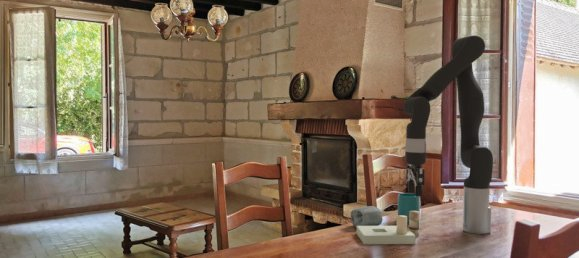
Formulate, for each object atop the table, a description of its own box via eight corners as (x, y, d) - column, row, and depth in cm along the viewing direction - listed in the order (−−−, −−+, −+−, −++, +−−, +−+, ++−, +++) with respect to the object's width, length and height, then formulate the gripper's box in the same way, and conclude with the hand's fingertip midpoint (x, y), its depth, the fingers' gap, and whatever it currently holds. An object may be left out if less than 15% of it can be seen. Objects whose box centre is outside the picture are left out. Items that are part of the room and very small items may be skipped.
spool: (358, 223, 178) (358, 198, 182) (345, 229, 185) (345, 205, 190) (388, 229, 182) (387, 205, 187) (374, 235, 190) (373, 211, 195)
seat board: (403, 233, 176) (404, 209, 176) (415, 243, 162) (415, 218, 162) (356, 233, 175) (356, 210, 175) (364, 244, 161) (364, 218, 161)
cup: (428, 220, 198) (428, 194, 197) (411, 224, 190) (411, 197, 190) (410, 216, 205) (410, 191, 204) (393, 220, 197) (393, 194, 197)
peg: (417, 234, 175) (417, 210, 175) (420, 236, 171) (420, 212, 171) (407, 234, 175) (408, 210, 175) (410, 236, 171) (411, 212, 171)
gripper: (432, 152, 165) (431, 197, 166) (419, 149, 179) (418, 191, 180) (411, 152, 165) (410, 197, 165) (400, 149, 179) (399, 191, 180)
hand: (414, 194), depth 173 cm, fingers open, 8 cm apart
